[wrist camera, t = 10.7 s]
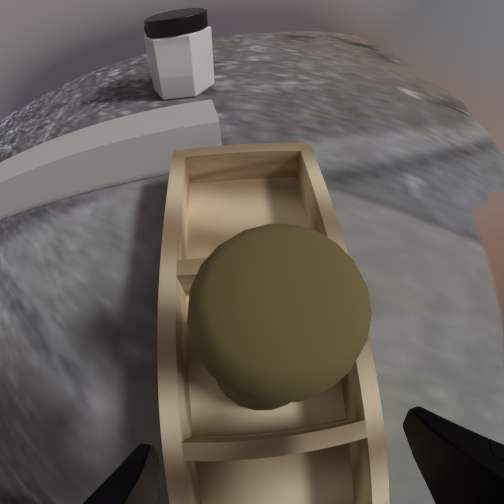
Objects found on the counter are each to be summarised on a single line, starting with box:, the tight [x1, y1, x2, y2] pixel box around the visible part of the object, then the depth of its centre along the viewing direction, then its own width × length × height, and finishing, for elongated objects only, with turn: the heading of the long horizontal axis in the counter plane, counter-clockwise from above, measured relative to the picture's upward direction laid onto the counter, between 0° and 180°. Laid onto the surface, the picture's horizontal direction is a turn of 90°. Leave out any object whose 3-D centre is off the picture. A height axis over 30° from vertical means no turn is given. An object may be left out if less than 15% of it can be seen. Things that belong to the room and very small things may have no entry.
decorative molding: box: [0, 100, 222, 220], centre depth 26 cm, size 34×5×10 cm
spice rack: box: [157, 143, 390, 504], centre depth 15 cm, size 31×11×4 cm, turn 6°
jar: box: [144, 8, 214, 100], centre depth 30 cm, size 9×8×12 cm
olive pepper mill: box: [187, 224, 372, 410], centre depth 11 cm, size 6×6×11 cm
